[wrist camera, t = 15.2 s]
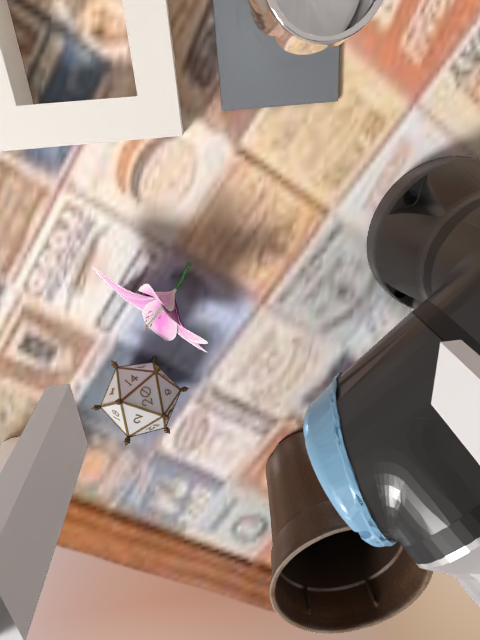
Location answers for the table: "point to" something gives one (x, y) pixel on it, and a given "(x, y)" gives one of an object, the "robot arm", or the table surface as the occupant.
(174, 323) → the lily
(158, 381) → the game die
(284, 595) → the plant pot
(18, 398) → the table surface
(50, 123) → the board
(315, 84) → the slate coaster
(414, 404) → the robot arm
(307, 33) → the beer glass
